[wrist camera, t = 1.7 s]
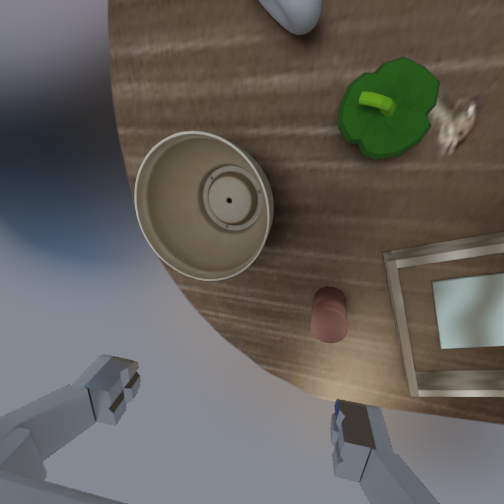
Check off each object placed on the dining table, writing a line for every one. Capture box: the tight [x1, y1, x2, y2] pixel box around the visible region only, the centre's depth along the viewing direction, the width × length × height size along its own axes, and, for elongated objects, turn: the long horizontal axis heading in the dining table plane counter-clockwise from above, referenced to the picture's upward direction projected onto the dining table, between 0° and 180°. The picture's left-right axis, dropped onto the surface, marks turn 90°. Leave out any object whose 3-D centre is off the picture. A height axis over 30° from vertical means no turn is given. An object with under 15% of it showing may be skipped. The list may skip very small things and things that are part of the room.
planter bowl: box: [135, 131, 274, 281], centre depth 34 cm, size 16×16×11 cm
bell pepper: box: [338, 57, 440, 160], centre depth 26 cm, size 8×8×10 cm
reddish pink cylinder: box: [310, 287, 347, 343], centre depth 36 cm, size 4×4×7 cm
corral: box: [382, 232, 504, 397], centre depth 32 cm, size 20×20×4 cm
